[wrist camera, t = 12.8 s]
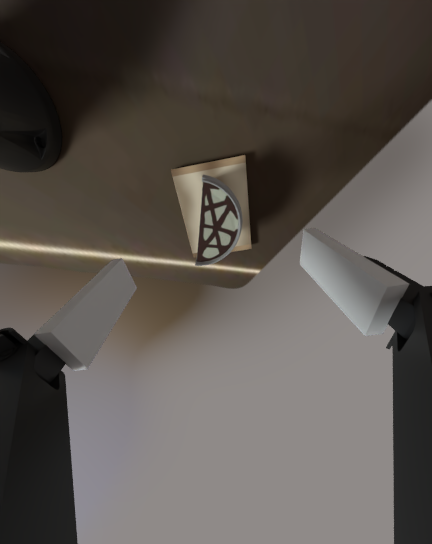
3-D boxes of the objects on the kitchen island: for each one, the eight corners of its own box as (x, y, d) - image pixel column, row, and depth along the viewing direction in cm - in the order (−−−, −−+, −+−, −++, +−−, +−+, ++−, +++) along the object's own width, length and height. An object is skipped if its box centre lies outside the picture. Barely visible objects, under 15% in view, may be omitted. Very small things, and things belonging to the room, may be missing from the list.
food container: (229, 246, 35) (235, 272, 26) (199, 243, 34) (194, 268, 26) (242, 178, 29) (255, 182, 20) (205, 172, 28) (202, 174, 19)
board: (194, 254, 38) (193, 257, 36) (173, 169, 29) (170, 169, 28) (249, 245, 37) (251, 248, 35) (243, 155, 28) (245, 154, 27)
